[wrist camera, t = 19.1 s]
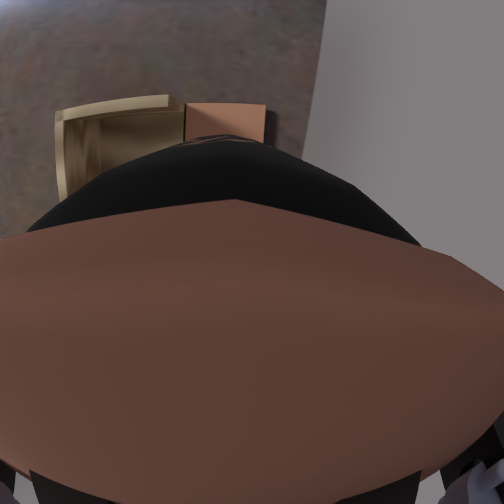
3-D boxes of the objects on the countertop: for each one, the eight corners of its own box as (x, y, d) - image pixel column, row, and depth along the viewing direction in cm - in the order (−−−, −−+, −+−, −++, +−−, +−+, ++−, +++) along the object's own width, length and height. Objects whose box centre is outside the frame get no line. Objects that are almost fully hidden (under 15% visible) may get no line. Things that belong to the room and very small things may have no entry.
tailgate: (186, 103, 30) (265, 105, 30) (188, 104, 31) (265, 105, 31) (185, 233, 38) (256, 237, 38) (186, 231, 39) (256, 234, 39)
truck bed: (97, 112, 30) (40, 112, 17) (185, 104, 31) (161, 90, 19) (110, 265, 40) (74, 318, 28) (186, 267, 41) (172, 327, 29)
